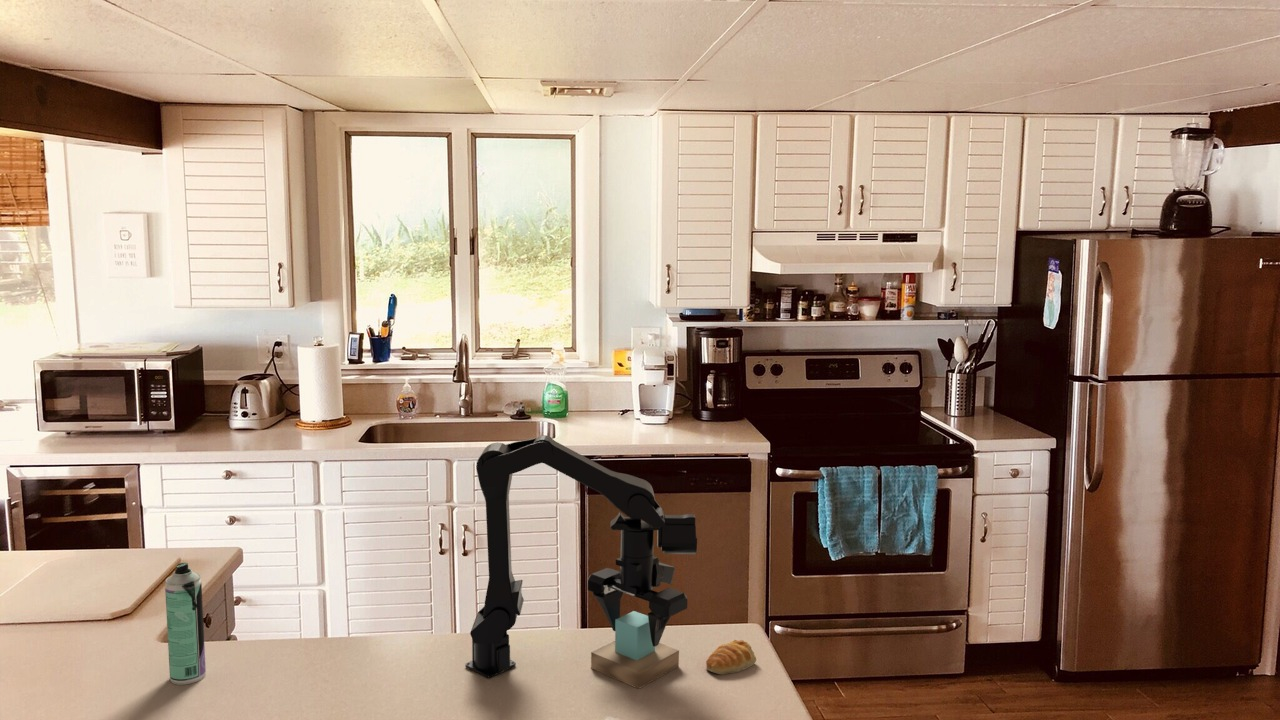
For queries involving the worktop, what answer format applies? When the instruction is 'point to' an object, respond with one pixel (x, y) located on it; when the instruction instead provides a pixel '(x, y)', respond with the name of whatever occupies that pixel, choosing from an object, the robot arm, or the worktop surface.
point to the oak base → (635, 664)
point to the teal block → (633, 636)
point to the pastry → (731, 658)
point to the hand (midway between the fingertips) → (635, 637)
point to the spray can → (185, 626)
